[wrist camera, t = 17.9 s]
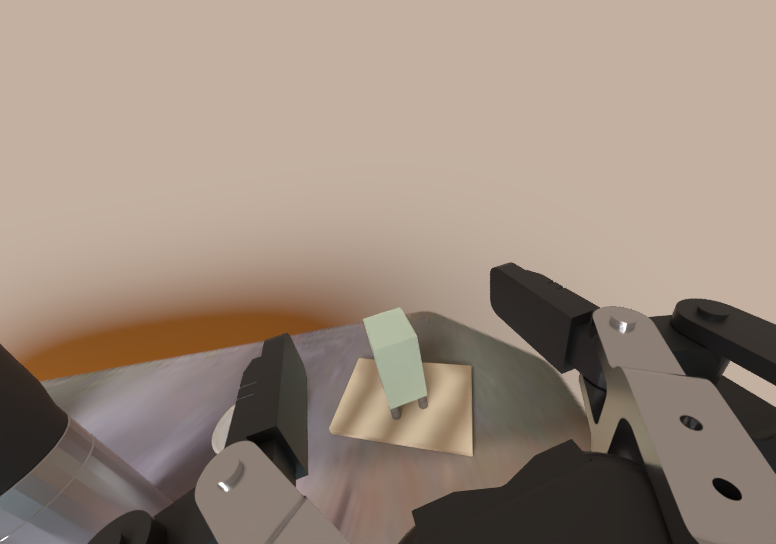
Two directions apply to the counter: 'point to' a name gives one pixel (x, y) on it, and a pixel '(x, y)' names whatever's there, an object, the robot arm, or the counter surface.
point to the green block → (396, 356)
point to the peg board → (410, 410)
